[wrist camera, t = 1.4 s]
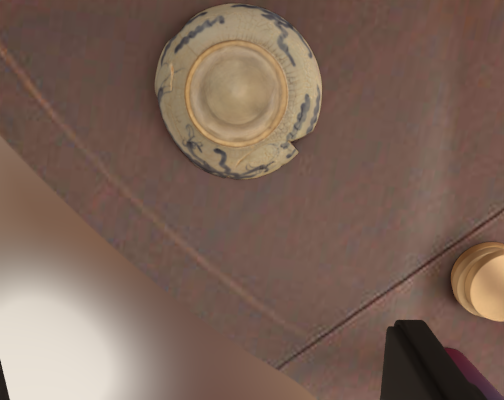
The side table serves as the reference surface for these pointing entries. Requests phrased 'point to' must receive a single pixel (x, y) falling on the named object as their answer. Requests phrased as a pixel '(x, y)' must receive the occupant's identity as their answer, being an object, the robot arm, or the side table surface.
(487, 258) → the chip pile
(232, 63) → the decorative bowl
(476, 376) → the cup
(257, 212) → the side table surface
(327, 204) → the side table surface
